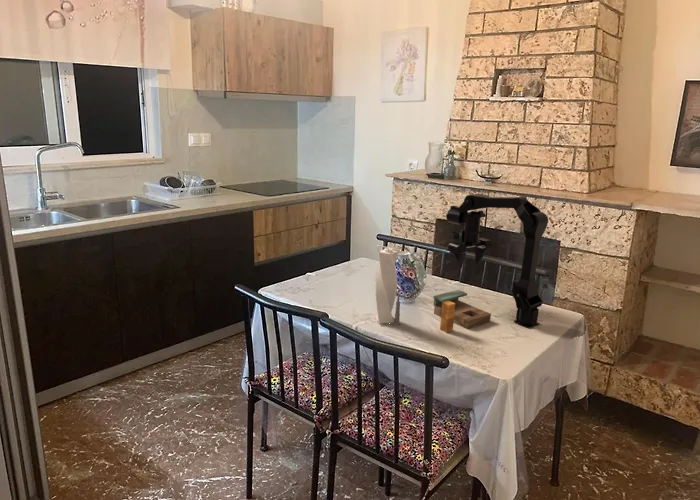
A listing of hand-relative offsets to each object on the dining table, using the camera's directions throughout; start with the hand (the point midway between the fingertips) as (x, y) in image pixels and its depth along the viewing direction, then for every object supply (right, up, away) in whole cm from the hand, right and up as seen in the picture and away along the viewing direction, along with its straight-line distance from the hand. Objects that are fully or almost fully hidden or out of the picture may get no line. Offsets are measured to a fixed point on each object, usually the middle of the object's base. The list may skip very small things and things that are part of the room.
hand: (468, 267), depth 201 cm
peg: (-13, -21, -23) cm, 34 cm away
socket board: (-5, -18, -12) cm, 22 cm away
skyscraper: (-33, -19, -17) cm, 42 cm away
